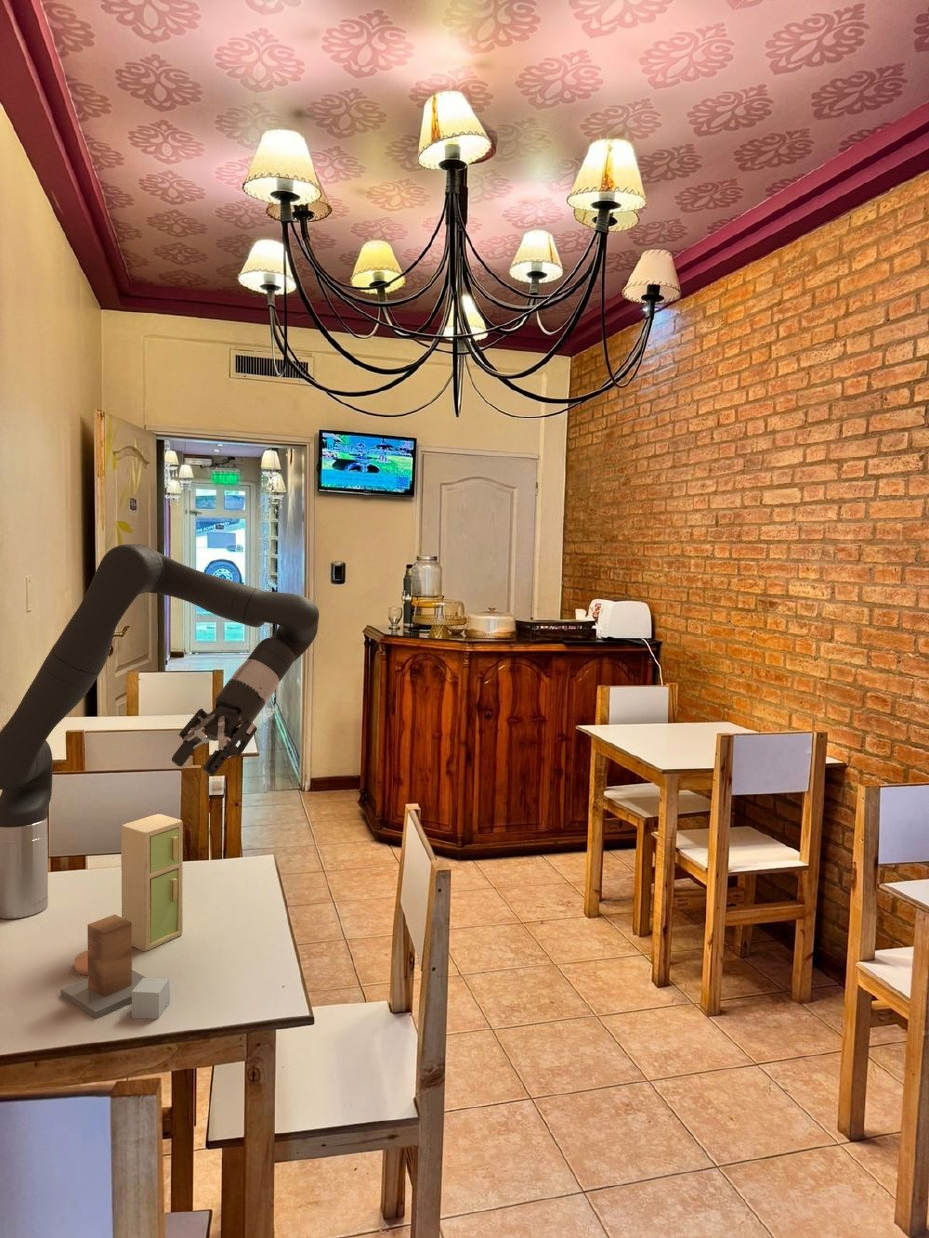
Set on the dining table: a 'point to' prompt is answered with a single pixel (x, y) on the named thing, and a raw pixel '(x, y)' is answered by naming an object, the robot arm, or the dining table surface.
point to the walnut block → (109, 955)
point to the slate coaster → (99, 997)
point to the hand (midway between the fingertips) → (191, 768)
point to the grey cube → (150, 998)
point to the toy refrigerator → (152, 879)
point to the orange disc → (81, 963)
